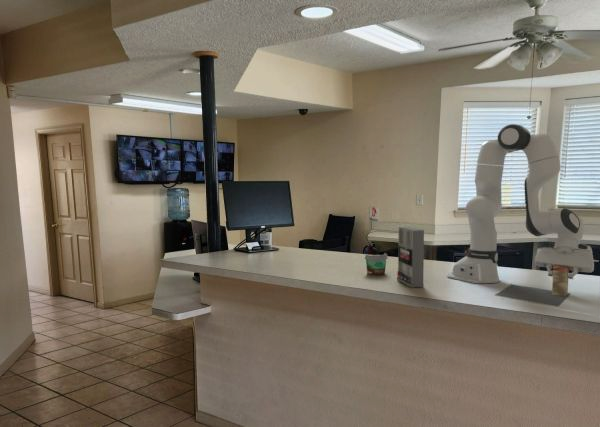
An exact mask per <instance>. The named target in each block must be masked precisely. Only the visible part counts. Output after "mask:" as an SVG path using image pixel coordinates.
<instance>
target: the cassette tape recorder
mask: <svg viewBox="0 0 600 427" xmlns="http://www.w3.org/2000/svg"><path fill="white" fill-rule="evenodd" d="M397 236H398V243H397V244H398V247H397V248H398V253H397V260H398V262H397V263H398V264H397V265H398V267H397V277H396V280H397V281H398V282H400V283H402V284H404V285H406V286H408V287H409V288H412V289H413V288H423V287H424V286H425V284H424V268H425V266H424V265H425V264H424V262H425V261H424V258H425V257H424V255H425V254H424V253H425V252H424V251H425V250H424V249H425V248H424V247H425V229H420V228H416V227H413V226H398V235H397Z"/></svg>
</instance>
